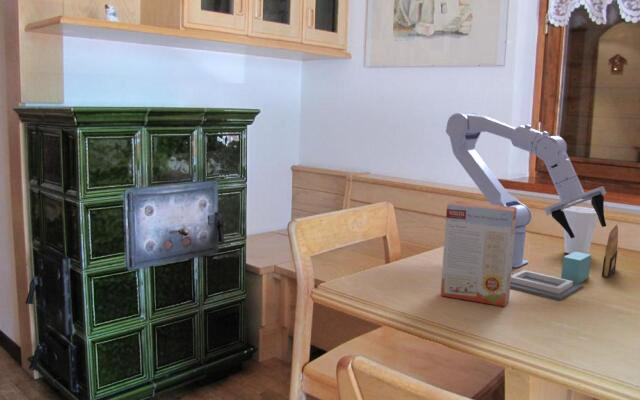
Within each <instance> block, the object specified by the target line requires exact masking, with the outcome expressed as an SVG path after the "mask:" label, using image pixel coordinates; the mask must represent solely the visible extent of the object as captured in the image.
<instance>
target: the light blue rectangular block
mask: <svg viewBox="0 0 640 400" xmlns="http://www.w3.org/2000/svg"><path fill="white" fill-rule="evenodd" d="M591 260H592V254H591V253H588V254H585V253H580V252H573V253H571V254H569V253H568V254H567V255H564V256H563V258H562V267H561V274H560V278H562V279H566V280H571V281H573V283H576V284H580V283H582V282H583V281H585V280H587V279H589V278H590V270H591V262H592V261H591Z"/></svg>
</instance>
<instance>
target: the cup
mask: <svg viewBox="0 0 640 400" xmlns="http://www.w3.org/2000/svg"><path fill="white" fill-rule="evenodd" d="M561 211H563V212H564V214H565V217H566V219H567V222H568V224H569V226H570V228H571V230H572V232H573V234H574V236H575V237H574V238H571V237H570V236H569V234H568V233H567V231H566V230H565V229H564V228H563V235H564V236H563V240H564V253H566V254H568V255H569V254H571V253H573V252H580V253H585V254H589V251H590V247H591V244H592V241H593V238H594V233H595V229H596V227H597V223H598V220H599V218H598V216H597V213H596V211H595V209H594V208H593V207H592V208H591V207H585V206H576V205H574V206H571V207H569V208H566V209H563V210H561Z"/></svg>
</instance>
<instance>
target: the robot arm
mask: <svg viewBox="0 0 640 400" xmlns="http://www.w3.org/2000/svg"><path fill="white" fill-rule="evenodd" d="M445 128H446V129H445V133H446V135H447V136H448V137H449V140H450V145H451V149H452V153H453V155H454V157H455V158H456V160H457V161H458V162H459V163H460V165H461V166H462V168H463V169H464V171H466V173H467V174H468V175H469V177H470V178H471V180H472V182H474V184H475V185H476V187H477V188H478V189H479V191H480V192H481V193H482V194H483V196H484V197H485V198H486V200H487V202H489V204H490V205H499V206H508V207H516V208H517V212H516V225H515V237H514V248H513V260H512V268H514V269H515V268H519V267H522V266H524V265H526V264H529V262H530V261H529V260H526V259H524V254H525V253H524V252H525V241H526V233H527V232H526V231H527V230H526V229H527V225H529V224H530V223H531V222H532V221H531V220H532V211H531V210H530V208H529V206H527V205H525V204H524V203H522V202H521V201H520V200H519V199H518V197H515V196H514V195H512V194H510V193H509V192H508V191H507V190H506V188H505V187H504V186H503V185H502V183H501V182H500V181H499V180H498V178H497V177H496V175H495V174H494V173H493V172H492V170H491V168H489V166H488V165H487V164H486V162H485V161H484V160H483V158H482V156H480V154H479V153H478V152H477V151H476V149H475V148H476V144H477V142H478V139H479V138H480V136H481V133H483V132H484V133H485V132H487V133H488V134H492V135H496V136H498V137H502V138H505V139H507V140H510V142H511V145H512V146H513V147H516V148H518V149H521V150H523V151H525V152H528V153H530V154H533V155H536V157H538V159H539V160H542V161H543V162H544V164H545V167H546V169H547V171H548V174H549V176H550V178H551V181H552V183H553V185H554V188H555V190H556V192H557V194H558V196H559V200H560V201H559V202H556V203H553V204H551V205H548V206H546V207H544V208H543V209H544V213H545V215H546V216H547V217H548V216H550V215H551V218H553V219H554V220H555V221H556V222H557V223H558V224H559V225H561V227H562V228H563V230H564V229H565V230H566V231H567V233H568V234H569V236H570V237H571V238H574V237H575V236H574V234H573V232H572V230H571V228H570V226H569V224H568V222H567V219H566V217H565V214H564V212H563V211H562V210H563V209H566V208H569V207H571V206H577V205H579V204H582V203H584V202H585V203H586V202H587V201H591V202H590V203H591V206H592V208H593V209H595V211H596V213H597V216H598V220H599V224H600V226H601V228H605V227H607V224H606V220H605V218H606V217H605V212H604V210H605V208H604V200H605V197H604V196H605V195H606V194H607V191H606V189H605V186H604V185H603V186H600V187H597V188H594V189H591V190H588V191H586V192H585V191H584V188H583V186H582V184H581V182H580V180H579V177H578V175H577V172H576V171H575V170H576V169H574V166H573V164H572V161H571V160H570V157H569V155H568V152H567V151H568V144H567V142H566V140H565V139H564V138H563V137H562V136H560V135H559V134H558V135H556V134H553V135H551V136H550V135H549V132H548V131H539V130H537V129H534V128H533V126H532V125H530V124H525V125H518V126H517V127H514V126H512V125H509V124H507V123H504V122H501V121H499V120H497V119H494V118H491V117H489V116H486V115H483V114H478V113H458V112H457V113H456V112H455V113H454V114H452V115H450V116H449V118H448V119H447V122H446V127H445ZM573 202H574V203H573Z"/></svg>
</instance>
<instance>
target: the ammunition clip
mask: <svg viewBox="0 0 640 400" xmlns="http://www.w3.org/2000/svg"><path fill="white" fill-rule="evenodd" d="M618 238H619V227H618V225H617V224H615V226H614V227H612V229H611V230H610V232H609V234H608V238H607V243H606V247H605V253H604V256H603V264H602V271H601V277H604V278H609V279H610V278H611V277H612V274H613V273H614V272H615V270H616V267H617V259H618V258H617V257H618V242H619V239H618Z"/></svg>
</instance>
